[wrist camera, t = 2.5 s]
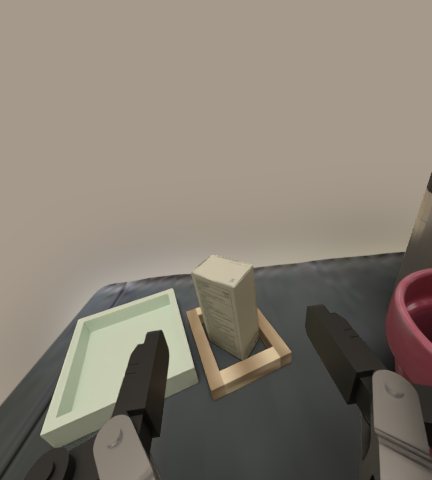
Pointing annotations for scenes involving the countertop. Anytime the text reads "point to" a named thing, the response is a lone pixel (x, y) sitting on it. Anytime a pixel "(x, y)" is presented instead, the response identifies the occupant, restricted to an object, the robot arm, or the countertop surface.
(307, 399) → the countertop surface
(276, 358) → the wooden frame
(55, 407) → the sage tray
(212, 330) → the skincare box
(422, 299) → the plant pot
